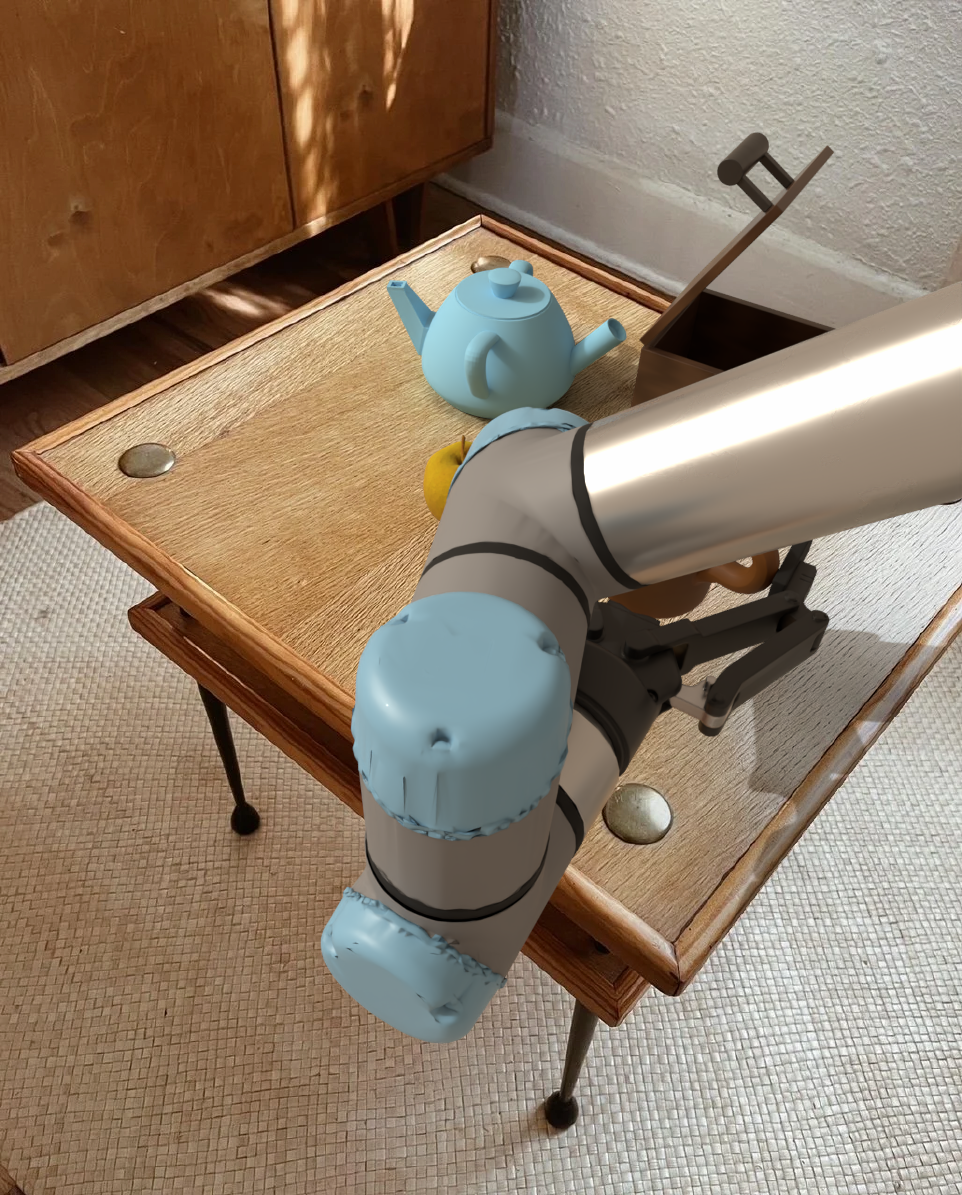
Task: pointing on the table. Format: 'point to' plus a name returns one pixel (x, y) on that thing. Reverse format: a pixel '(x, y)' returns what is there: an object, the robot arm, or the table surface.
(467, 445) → the apple
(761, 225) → the lid
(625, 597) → the mug
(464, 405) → the teapot
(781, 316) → the chest
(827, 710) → the table surface
